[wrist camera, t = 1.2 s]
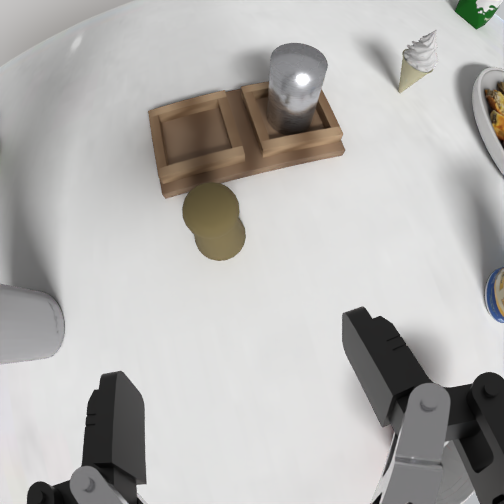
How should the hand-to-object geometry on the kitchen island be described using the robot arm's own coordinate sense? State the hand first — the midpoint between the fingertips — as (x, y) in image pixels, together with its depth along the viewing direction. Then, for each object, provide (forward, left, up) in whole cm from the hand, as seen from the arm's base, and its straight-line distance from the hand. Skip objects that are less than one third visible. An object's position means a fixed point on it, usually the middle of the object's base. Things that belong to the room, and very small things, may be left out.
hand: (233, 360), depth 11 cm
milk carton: (+73, +52, -26) cm, 93 cm away
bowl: (+59, +15, -26) cm, 66 cm away
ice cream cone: (+33, +27, -26) cm, 50 cm away
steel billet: (+13, +24, -24) cm, 37 cm away
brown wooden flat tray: (+6, +24, -26) cm, 36 cm away
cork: (0, +11, -26) cm, 29 cm away
